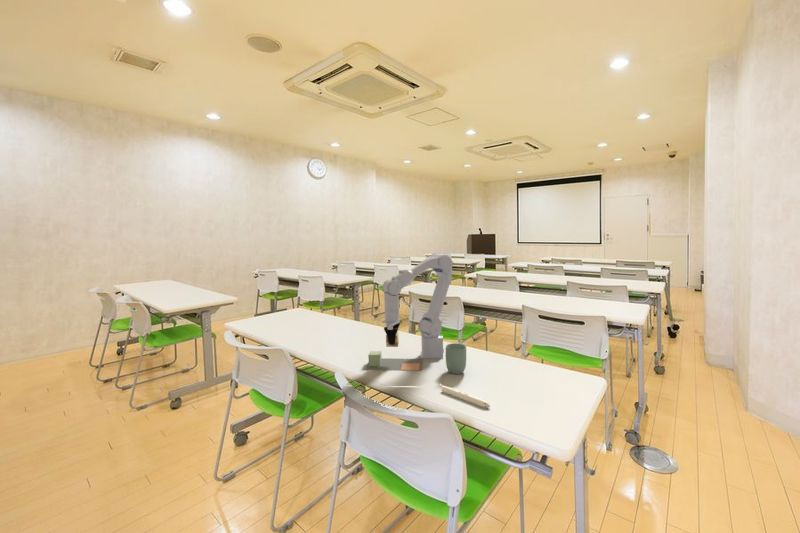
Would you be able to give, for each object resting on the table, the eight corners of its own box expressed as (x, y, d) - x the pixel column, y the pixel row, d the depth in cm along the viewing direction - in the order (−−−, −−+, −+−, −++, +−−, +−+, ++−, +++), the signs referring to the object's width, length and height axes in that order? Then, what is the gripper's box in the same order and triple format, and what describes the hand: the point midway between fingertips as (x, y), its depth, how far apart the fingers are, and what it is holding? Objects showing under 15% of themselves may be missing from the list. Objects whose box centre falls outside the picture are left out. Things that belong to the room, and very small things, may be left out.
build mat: (422, 360, 149) (422, 358, 149) (421, 372, 136) (421, 370, 136) (370, 359, 151) (370, 358, 151) (364, 371, 139) (364, 369, 139)
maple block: (398, 343, 147) (398, 332, 147) (397, 346, 143) (397, 335, 143) (387, 343, 148) (387, 332, 147) (386, 346, 143) (386, 335, 143)
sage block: (381, 361, 147) (381, 351, 146) (379, 366, 142) (379, 354, 142) (370, 361, 147) (370, 351, 147) (368, 365, 143) (368, 354, 142)
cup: (467, 369, 138) (467, 344, 138) (465, 377, 131) (465, 350, 130) (447, 367, 140) (447, 342, 140) (444, 375, 133) (444, 349, 132)
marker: (492, 408, 108) (492, 401, 108) (488, 411, 106) (488, 403, 106) (445, 390, 121) (445, 384, 120) (441, 392, 119) (441, 385, 119)
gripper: (384, 306, 152) (385, 337, 153) (379, 313, 137) (380, 348, 138) (401, 305, 151) (401, 337, 152) (397, 313, 137) (398, 348, 138)
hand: (392, 342), depth 145 cm, fingers closed on maple block, 4 cm apart
